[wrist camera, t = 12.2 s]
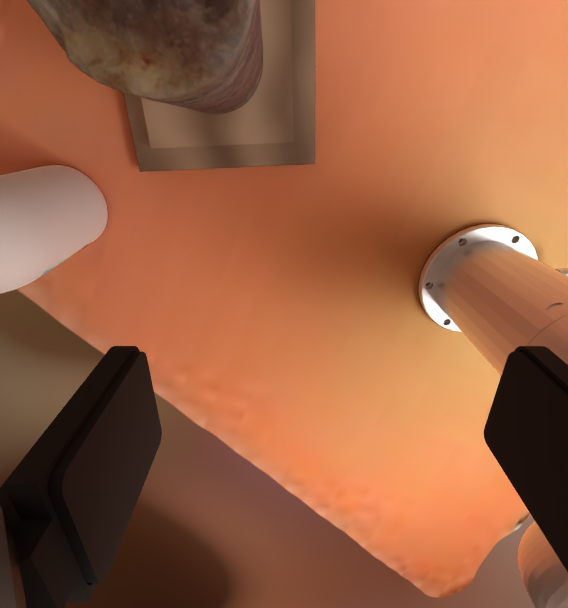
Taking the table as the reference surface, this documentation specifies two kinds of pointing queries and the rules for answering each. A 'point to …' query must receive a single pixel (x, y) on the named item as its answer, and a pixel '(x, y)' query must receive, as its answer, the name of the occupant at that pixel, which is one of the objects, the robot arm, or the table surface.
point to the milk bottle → (45, 221)
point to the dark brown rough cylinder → (164, 47)
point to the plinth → (246, 151)
